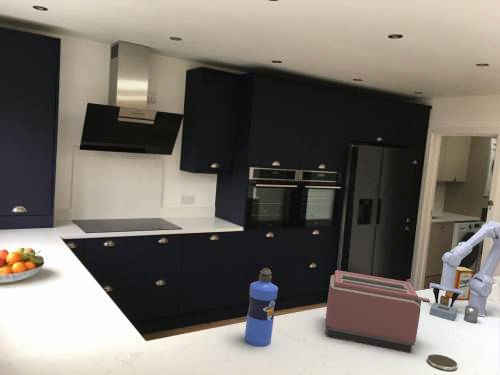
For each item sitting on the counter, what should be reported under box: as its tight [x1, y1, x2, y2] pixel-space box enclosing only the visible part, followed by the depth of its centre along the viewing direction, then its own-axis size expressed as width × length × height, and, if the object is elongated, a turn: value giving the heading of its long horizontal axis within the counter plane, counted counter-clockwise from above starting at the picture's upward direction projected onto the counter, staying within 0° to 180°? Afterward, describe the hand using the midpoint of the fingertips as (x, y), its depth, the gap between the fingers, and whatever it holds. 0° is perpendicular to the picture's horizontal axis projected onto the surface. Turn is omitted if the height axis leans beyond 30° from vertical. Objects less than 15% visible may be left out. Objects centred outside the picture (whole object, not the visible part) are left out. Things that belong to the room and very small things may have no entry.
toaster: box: [325, 269, 431, 353], centre depth 161 cm, size 19×36×21 cm, turn 78°
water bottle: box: [244, 267, 279, 348], centre depth 146 cm, size 9×9×25 cm
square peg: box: [438, 295, 451, 306], centre depth 202 cm, size 4×4×6 cm
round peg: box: [463, 305, 479, 324], centre depth 191 cm, size 5×5×6 cm
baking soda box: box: [444, 266, 475, 301], centre depth 223 cm, size 10×6×16 cm
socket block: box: [429, 302, 458, 322], centre depth 195 cm, size 10×10×3 cm
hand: (443, 306), depth 203 cm, fingers open, 6 cm apart
